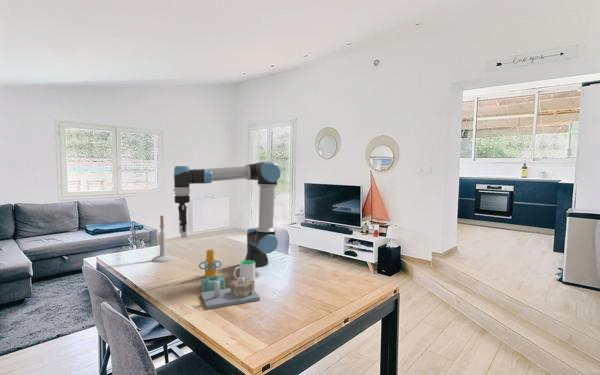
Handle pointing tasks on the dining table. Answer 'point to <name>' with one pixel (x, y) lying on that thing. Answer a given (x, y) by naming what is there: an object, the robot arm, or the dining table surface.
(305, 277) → the dining table surface
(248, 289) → the gear
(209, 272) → the orange post with rings
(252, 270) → the mug
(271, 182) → the robot arm
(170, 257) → the candlestick
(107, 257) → the dining table surface
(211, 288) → the gear
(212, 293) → the gear board
